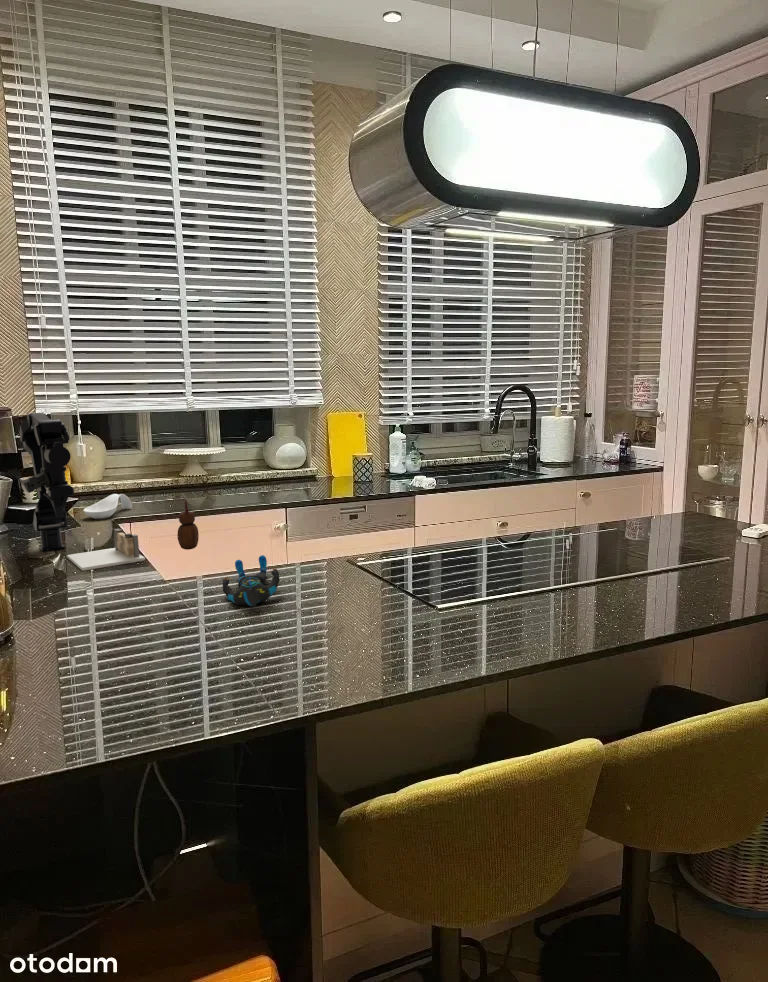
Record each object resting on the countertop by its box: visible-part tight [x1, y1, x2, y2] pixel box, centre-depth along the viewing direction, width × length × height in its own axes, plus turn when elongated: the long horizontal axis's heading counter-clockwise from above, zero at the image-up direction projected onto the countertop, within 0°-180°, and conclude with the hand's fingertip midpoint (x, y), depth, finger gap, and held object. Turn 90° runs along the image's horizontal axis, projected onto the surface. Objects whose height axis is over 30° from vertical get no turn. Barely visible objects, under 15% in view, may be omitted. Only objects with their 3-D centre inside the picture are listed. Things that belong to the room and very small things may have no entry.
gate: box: [113, 528, 134, 556], centre depth 219 cm, size 14×2×6 cm, turn 34°
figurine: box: [221, 554, 281, 607], centre depth 177 cm, size 13×6×30 cm
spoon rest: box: [83, 493, 133, 520], centre depth 287 cm, size 24×12×7 cm, turn 168°
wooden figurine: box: [177, 500, 200, 551], centre depth 225 cm, size 7×6×15 cm
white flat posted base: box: [66, 531, 146, 572], centre depth 216 cm, size 19×17×7 cm
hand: (58, 517), depth 218 cm, fingers closed
